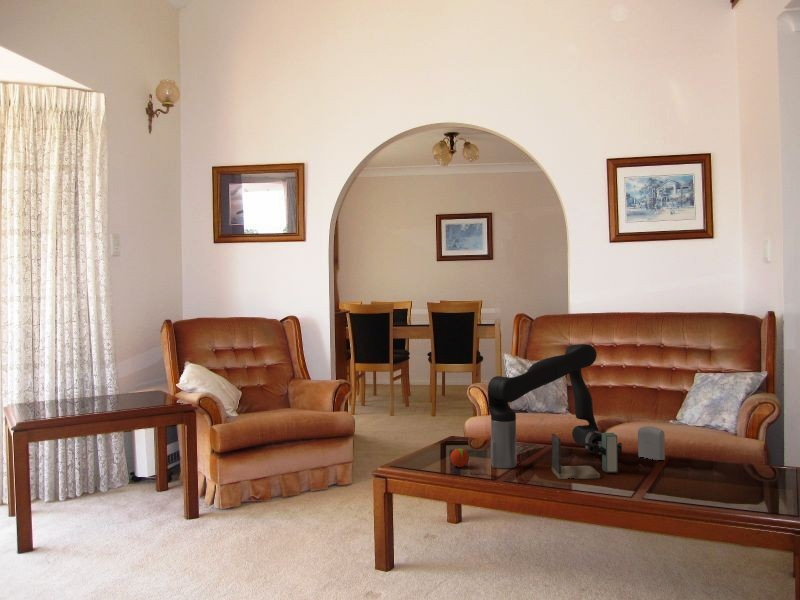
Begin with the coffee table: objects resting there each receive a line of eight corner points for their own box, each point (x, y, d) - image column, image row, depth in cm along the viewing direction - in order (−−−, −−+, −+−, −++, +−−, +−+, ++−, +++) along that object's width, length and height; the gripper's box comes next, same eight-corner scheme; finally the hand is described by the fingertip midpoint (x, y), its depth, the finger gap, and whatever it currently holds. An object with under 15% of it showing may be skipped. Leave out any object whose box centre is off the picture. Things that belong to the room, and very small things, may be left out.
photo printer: (636, 457, 269) (635, 425, 270) (642, 455, 272) (642, 424, 272) (660, 462, 262) (660, 429, 262) (666, 460, 264) (666, 427, 264)
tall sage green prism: (606, 472, 244) (606, 435, 244) (602, 469, 249) (601, 432, 249) (617, 472, 244) (617, 435, 244) (613, 468, 249) (612, 432, 249)
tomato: (471, 469, 255) (471, 449, 255) (453, 470, 253) (453, 450, 253) (466, 464, 262) (466, 445, 262) (448, 465, 261) (448, 446, 261)
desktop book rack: (559, 478, 239) (558, 439, 239) (551, 470, 251) (551, 433, 251) (600, 478, 239) (599, 439, 239) (590, 469, 251) (589, 432, 251)
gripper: (578, 432, 262) (591, 441, 244) (616, 432, 262) (631, 441, 244) (578, 452, 262) (591, 463, 244) (616, 452, 262) (631, 462, 244)
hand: (611, 452), depth 245 cm, fingers closed on tall sage green prism, 4 cm apart
